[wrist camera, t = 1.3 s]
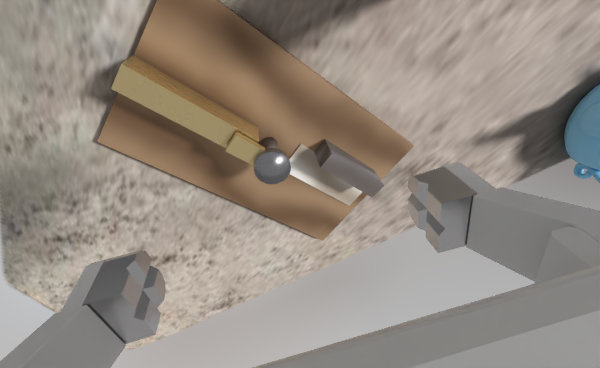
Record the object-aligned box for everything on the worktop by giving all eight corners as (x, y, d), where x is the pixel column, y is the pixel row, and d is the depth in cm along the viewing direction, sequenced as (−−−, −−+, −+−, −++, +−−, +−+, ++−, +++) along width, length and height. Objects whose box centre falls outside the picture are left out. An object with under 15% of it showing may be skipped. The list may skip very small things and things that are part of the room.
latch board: (173, -33, 25) (159, -34, 21) (409, 142, 38) (429, 162, 34) (100, 137, 32) (79, 161, 28) (321, 235, 45) (328, 262, 41)
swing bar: (291, 141, 34) (298, 163, 30) (274, 165, 35) (277, 189, 31) (135, 49, 27) (116, 62, 23) (120, 84, 28) (100, 102, 24)
